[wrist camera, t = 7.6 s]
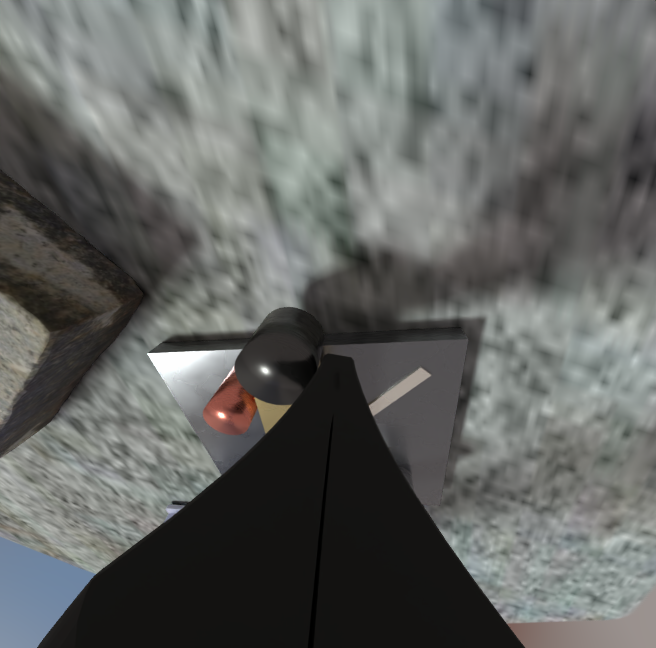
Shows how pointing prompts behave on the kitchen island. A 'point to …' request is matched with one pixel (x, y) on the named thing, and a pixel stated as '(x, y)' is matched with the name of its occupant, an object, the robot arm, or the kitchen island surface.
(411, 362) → the crank base
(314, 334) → the crank lever
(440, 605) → the robot arm
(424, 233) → the kitchen island surface
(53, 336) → the stone block
